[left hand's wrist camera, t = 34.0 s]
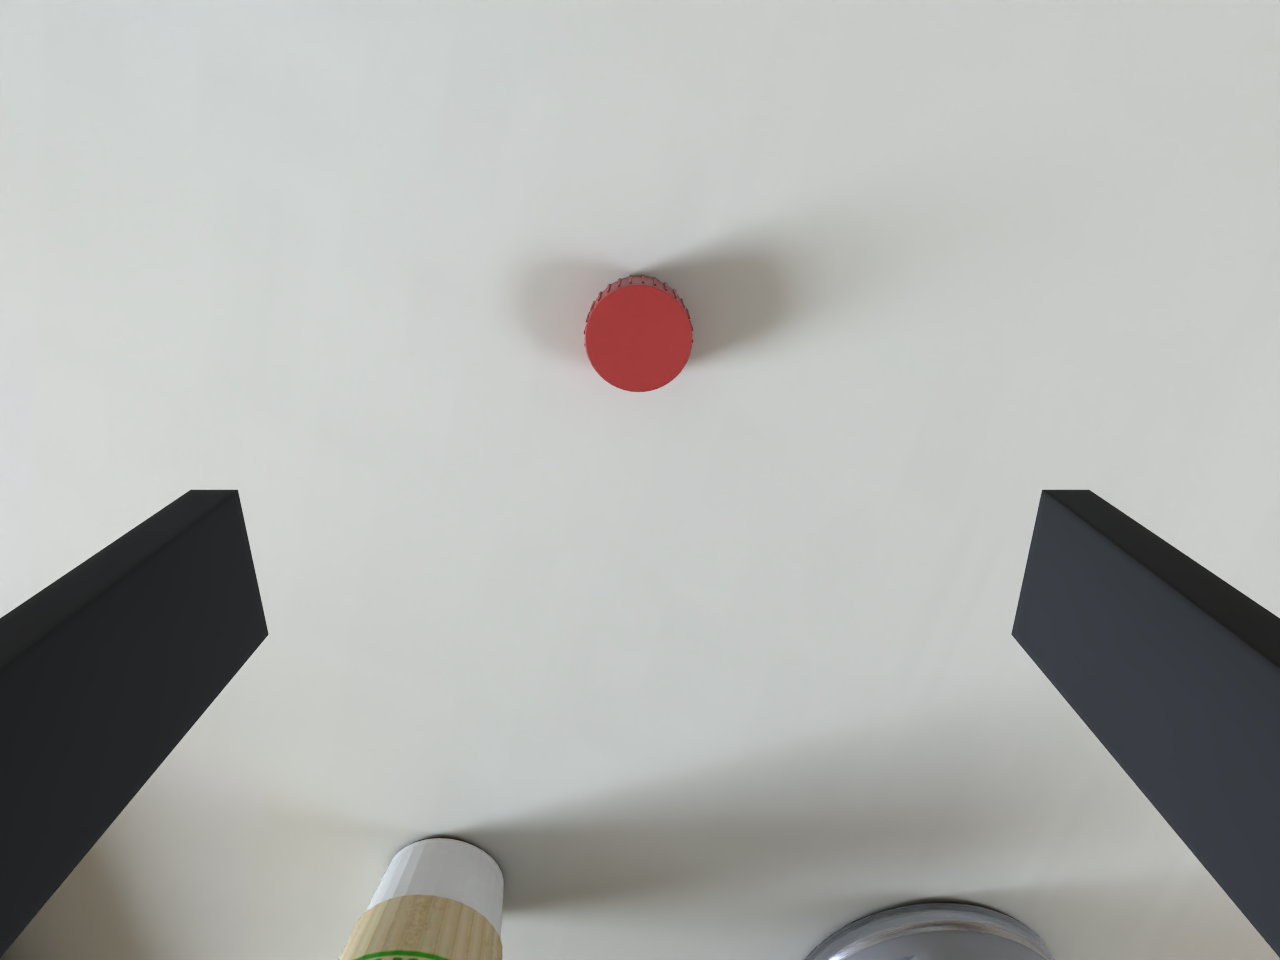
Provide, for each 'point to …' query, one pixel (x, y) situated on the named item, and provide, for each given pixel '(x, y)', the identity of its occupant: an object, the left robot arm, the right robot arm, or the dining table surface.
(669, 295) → the cap
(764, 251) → the dining table surface
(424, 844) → the coffee cup
